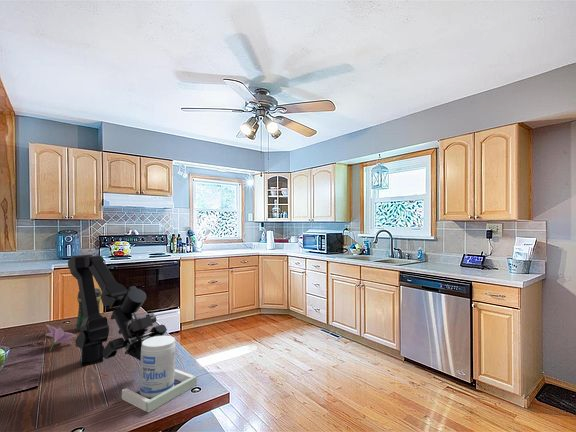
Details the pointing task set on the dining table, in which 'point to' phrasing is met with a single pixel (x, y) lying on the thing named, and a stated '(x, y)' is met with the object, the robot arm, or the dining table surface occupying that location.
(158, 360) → the supplement tub
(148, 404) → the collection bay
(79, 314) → the coffee jar
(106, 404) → the dining table surface
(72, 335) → the lily
